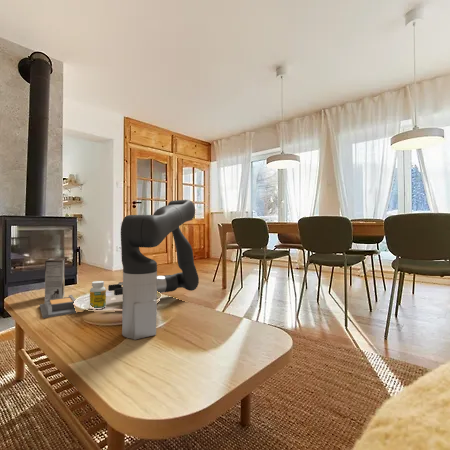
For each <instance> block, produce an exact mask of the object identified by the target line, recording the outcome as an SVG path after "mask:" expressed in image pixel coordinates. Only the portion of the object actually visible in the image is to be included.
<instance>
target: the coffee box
mask: <svg viewBox="0 0 450 450" xmlns="http://www.w3.org/2000/svg"><path fill="white" fill-rule="evenodd" d="M65 260H66V257H60V258H59V257H51V258H49V257H48V258H47V259H46V260H45V262H44V263H45V264H44V265H45V269H44V270H45V273H44V299H45V298H48V299H57V298H64V296H65V287H66V286H65V284H66V283H65V279H66V277H65V276H66V275H65V274H66V273H65V271H66V268H65V267H66V266H65V265H66V264H65V263H66V261H65Z"/></svg>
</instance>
